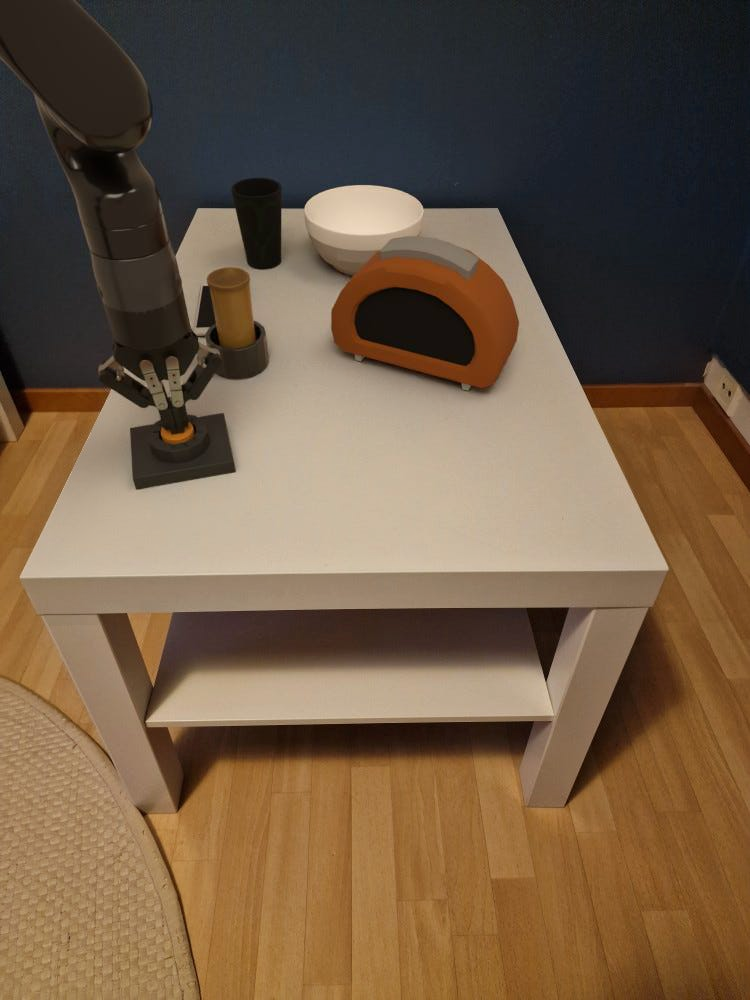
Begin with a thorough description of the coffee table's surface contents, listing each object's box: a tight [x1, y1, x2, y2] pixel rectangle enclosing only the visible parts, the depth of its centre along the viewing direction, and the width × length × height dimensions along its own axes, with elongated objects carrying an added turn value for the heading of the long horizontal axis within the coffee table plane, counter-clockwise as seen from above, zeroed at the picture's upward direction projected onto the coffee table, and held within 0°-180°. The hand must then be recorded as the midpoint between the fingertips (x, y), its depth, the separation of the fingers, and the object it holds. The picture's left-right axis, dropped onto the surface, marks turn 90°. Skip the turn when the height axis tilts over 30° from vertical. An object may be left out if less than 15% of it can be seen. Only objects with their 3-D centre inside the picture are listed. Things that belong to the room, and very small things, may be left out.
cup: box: [230, 177, 283, 270], centre depth 109 cm, size 8×8×12 cm
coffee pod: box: [206, 266, 256, 348], centre depth 89 cm, size 5×5×12 cm
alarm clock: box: [330, 235, 520, 391], centre depth 88 cm, size 23×9×17 cm, turn 66°
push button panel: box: [129, 412, 236, 490], centre depth 79 cm, size 11×9×4 cm
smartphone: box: [193, 281, 251, 337], centre depth 103 cm, size 8×1×15 cm
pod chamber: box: [204, 320, 270, 380], centre depth 92 cm, size 8×8×4 cm
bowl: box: [303, 184, 425, 277], centre depth 111 cm, size 19×19×9 cm
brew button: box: [161, 422, 195, 444], centre depth 78 cm, size 4×4×2 cm
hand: (177, 428), depth 78 cm, fingers closed
